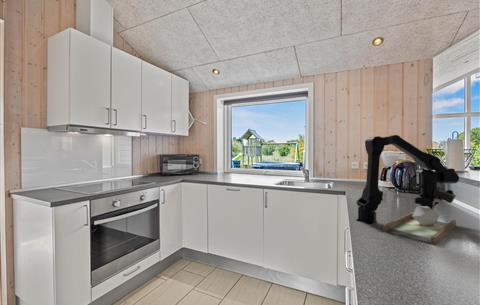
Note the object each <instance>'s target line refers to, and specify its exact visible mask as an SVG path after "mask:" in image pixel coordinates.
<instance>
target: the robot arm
mask: <svg viewBox="0 0 480 305" xmlns="http://www.w3.org/2000/svg"><path fill="white" fill-rule="evenodd" d="M364 144H365V151H366V154H367V166H366V167H367V168H366V169H367V170H366V182H365V183H366V184H365V187H364V189H363V190H362V194H361V196H360V197H359V198H358V199H357V200H356V205H357V206H358V207H357V210H358V211H357V218H356V221H357V222H362V223H364V224H365V223H367V224H369V225H370V224H371V225H372V224H374V223H377V221H378V220H377V212H376V211H377V210H378V207H379V205H381V204H382V201H384V199H383V195H384V191H382V190H380V189H379V175H380V162H381V161H380V160H381V155H382V154H383V151H384V149H385V146H389V145H392V146H393V147H395V149H396V148H397V149H398V150H400V151H401V152H403V153H404V154H406V155H408V156H409V157H410V158H412V160H413V161H414V163H415V164H416V165H418V167H420V168H419V169H418V170H416V171H415V173H416V174H420V184H419V188H420V194H419V196H417V197H415V198H414V204H415V205H416V204H417V205H420V206H429V207H430V208H431V209H432V210H434V208H435V206H438V204H440V202H439V201H445V202H447V203H449V204H451V203H453V202H454V200H455V198H456V196H457V195H456V194H455V193H454V191H453V190H451V189H448V190H442V189H441V188H440V187H441V186H439V185H438V184H457V183H458V182H459V180H460V177H459V174H458V172H456V171H455V168H451V167H450V168H446V167H445V166H444V164H443V163H442V162H441V158H439V157H438V156H435V155H433V154H431V153H428V152H426V151H425V152H424V151H422V150H420V149H419V148H418V147H416V146H414V145H413V144H411V143H410V142H408V141H407V140H405V139H404V138H402V137H401V136H400V135H398V134H394V135H393V134H391V135H389V136H378V135H377V136H371V137H367V139H365V141H364ZM436 200H439V201H436Z"/></svg>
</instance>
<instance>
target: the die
mask: <svg viewBox="0 0 480 305" xmlns="http://www.w3.org/2000/svg"><path fill="white" fill-rule="evenodd" d="M413 212H414V213H413V215H412V217H413V218H414V219H415V220H416V221H418V222H419V223H420V224H421V225H422V226H433V225H435V223H436V221H438V219H439V217H440V214H439V213H437V212H436V211H435V210H434V209H433V210H432V209H431V208H430V207H429V206H421V205H420V206H416V207H415V209H414V211H413Z"/></svg>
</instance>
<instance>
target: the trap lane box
mask: <svg viewBox="0 0 480 305" xmlns="http://www.w3.org/2000/svg"><path fill="white" fill-rule="evenodd" d="M413 213H414V211H413V212H412V211H411V212H408V213H406V214H405V215H402V216H400V217H398V218H395V219H394V220H392V221H389V222H388V223H385V224H384V225H383V232H385V233H388V234H392V235H395V236H399V237H403V238H407V239H411V240H415V241H419V242H421V243H426V244H429V245H432V246H436V245H437V244H438V243H439V242H440V241H441V240H442V239H443V238H444V237H446V235H447V234H449V233H450V232H451V231H452V230H453V229H454V228H455V227H456V226H457V220H456V219H452V220H451V221H450V222H443V221H438V220H437V221H436V223H435V225H433V226H422V225H421V224H420V223H419V222H418V221H416V220H415V219H414V218H413V217H412V215H413Z"/></svg>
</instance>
